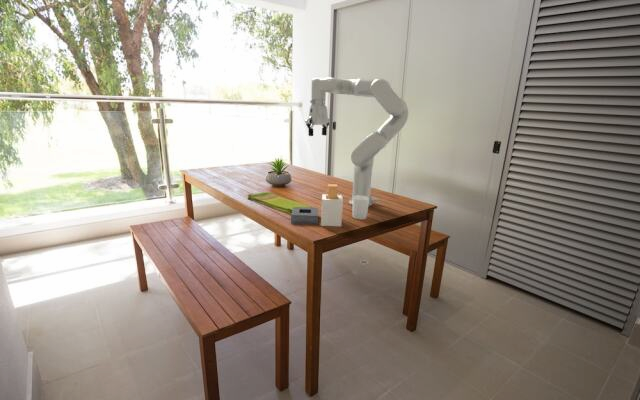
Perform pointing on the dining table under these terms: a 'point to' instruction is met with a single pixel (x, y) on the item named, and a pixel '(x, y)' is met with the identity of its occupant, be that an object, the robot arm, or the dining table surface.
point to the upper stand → (331, 211)
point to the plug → (332, 191)
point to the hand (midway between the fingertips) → (317, 135)
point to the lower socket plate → (304, 215)
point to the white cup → (360, 206)
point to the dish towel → (275, 202)
